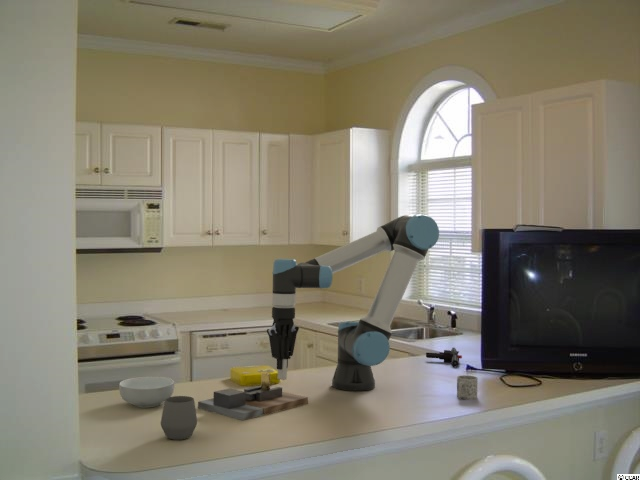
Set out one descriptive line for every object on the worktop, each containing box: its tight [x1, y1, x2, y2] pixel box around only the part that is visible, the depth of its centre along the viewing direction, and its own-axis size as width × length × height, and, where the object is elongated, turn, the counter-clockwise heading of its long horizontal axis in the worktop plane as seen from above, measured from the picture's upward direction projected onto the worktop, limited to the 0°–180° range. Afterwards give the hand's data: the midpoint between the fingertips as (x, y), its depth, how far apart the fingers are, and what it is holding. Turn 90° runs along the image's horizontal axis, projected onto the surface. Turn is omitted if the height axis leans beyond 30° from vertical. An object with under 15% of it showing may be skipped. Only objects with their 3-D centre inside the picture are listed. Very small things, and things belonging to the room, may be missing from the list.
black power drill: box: [425, 347, 463, 368], centre depth 302 cm, size 5×20×15 cm
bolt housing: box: [213, 385, 283, 409], centre depth 220 cm, size 22×7×4 cm, turn 139°
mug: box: [456, 374, 478, 400], centre depth 237 cm, size 10×7×7 cm, turn 145°
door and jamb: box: [197, 391, 309, 421], centre depth 221 cm, size 28×20×2 cm
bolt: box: [245, 373, 271, 401], centre depth 223 cm, size 10×3×7 cm, turn 139°
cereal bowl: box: [118, 376, 175, 408], centre depth 221 cm, size 17×17×7 cm
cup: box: [160, 395, 198, 441], centre depth 187 cm, size 10×9×10 cm
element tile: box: [229, 364, 281, 387], centre depth 259 cm, size 15×15×5 cm
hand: (281, 378), depth 231 cm, fingers closed
